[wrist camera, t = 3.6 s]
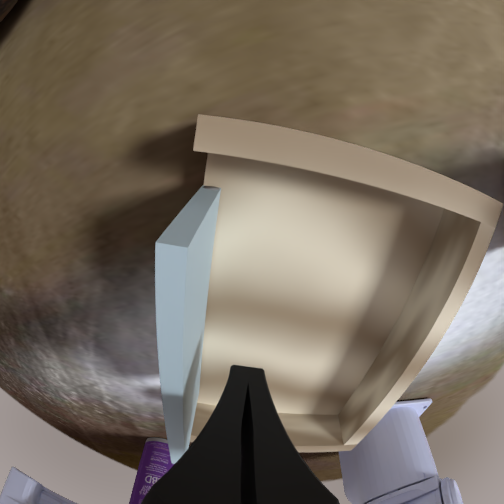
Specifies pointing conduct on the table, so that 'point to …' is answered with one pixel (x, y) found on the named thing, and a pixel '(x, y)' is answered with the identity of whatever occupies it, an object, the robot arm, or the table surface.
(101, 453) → the table surface
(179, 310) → the panel
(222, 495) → the robot arm
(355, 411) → the tray
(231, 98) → the table surface
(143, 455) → the container
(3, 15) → the jug
